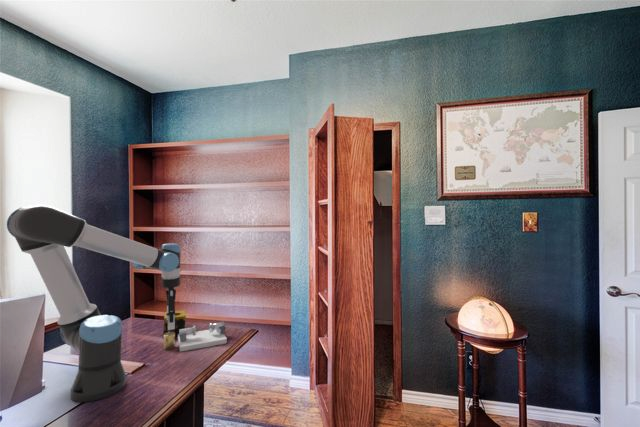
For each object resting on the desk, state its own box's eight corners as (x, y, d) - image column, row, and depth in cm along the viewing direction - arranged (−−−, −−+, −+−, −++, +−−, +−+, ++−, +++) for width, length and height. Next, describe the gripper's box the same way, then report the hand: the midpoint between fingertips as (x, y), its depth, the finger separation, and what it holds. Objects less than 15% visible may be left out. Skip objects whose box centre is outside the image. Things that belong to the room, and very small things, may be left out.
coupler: (163, 350, 131) (163, 335, 131) (163, 346, 135) (163, 331, 135) (175, 348, 133) (175, 333, 134) (174, 344, 137) (174, 330, 138)
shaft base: (179, 351, 130) (180, 333, 130) (177, 338, 144) (178, 322, 144) (226, 343, 140) (227, 326, 140) (220, 331, 154) (220, 316, 154)
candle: (163, 331, 153) (164, 312, 153) (185, 328, 157) (185, 309, 158) (162, 338, 144) (163, 318, 144) (185, 335, 148) (185, 315, 148)
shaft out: (212, 336, 142) (212, 324, 142) (208, 333, 146) (208, 321, 146) (225, 333, 147) (226, 321, 147) (221, 330, 150) (221, 319, 151)
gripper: (182, 282, 126) (181, 332, 126) (178, 272, 148) (177, 314, 148) (162, 283, 122) (161, 335, 122) (161, 273, 144) (160, 317, 144)
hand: (170, 324), depth 135 cm, fingers open, 13 cm apart
